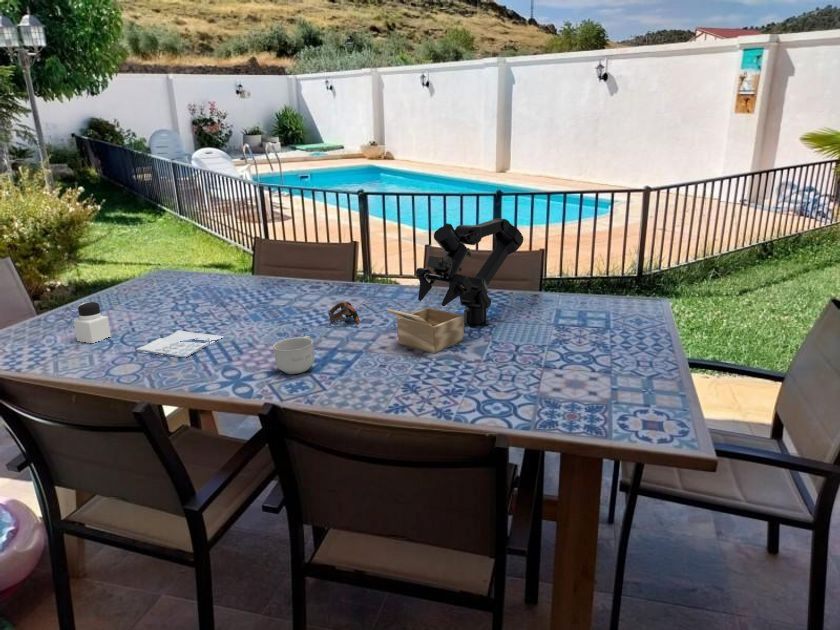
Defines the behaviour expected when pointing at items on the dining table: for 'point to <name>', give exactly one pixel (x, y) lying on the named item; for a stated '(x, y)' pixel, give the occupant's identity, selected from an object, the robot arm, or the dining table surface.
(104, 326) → the medicine bottle
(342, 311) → the brown wooden arch
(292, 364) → the teacup
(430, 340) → the tan wooden open box
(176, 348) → the white open book
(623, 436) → the dining table surface
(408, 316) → the flap
